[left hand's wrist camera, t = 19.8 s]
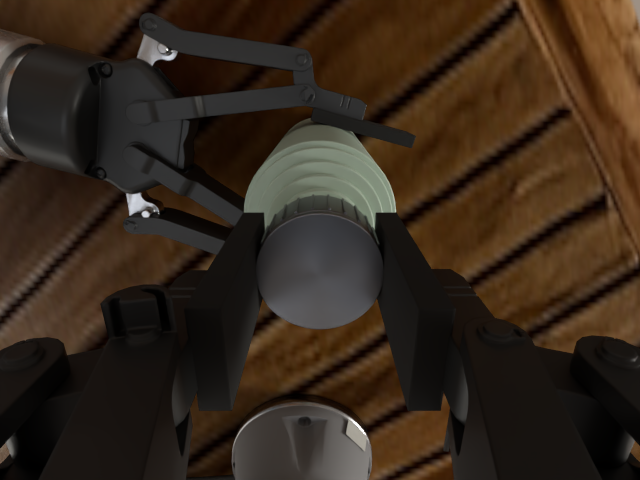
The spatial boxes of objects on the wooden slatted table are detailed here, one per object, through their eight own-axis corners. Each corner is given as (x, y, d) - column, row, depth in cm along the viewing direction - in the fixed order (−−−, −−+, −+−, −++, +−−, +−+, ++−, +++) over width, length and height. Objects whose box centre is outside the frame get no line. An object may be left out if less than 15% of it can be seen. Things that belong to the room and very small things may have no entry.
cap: (385, 285, 15) (396, 317, 13) (280, 307, 15) (274, 342, 13) (364, 181, 13) (372, 197, 11) (248, 208, 14) (235, 229, 12)
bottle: (330, 98, 30) (349, 113, 11) (378, 171, 32) (461, 289, 13) (260, 150, 31) (170, 243, 12) (310, 217, 33) (297, 382, 15)
